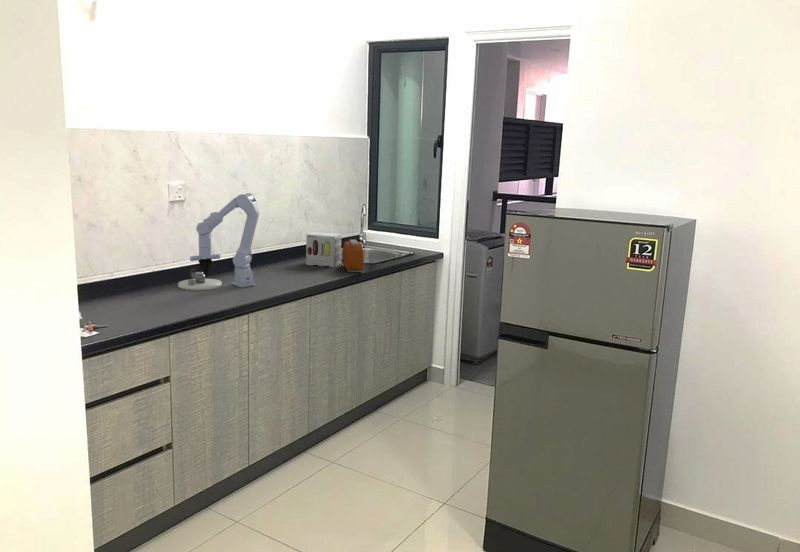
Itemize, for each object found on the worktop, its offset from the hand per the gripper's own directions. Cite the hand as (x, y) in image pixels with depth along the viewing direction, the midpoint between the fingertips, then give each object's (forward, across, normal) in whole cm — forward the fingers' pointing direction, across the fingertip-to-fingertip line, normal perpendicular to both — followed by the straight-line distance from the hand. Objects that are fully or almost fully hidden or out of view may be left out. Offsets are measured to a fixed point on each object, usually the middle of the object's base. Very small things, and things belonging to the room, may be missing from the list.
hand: (205, 274), depth 316 cm
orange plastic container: (+4, -83, +9) cm, 83 cm away
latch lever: (+2, +5, +2) cm, 6 cm away
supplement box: (+4, -77, -11) cm, 77 cm away
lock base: (+4, +5, +6) cm, 9 cm away
